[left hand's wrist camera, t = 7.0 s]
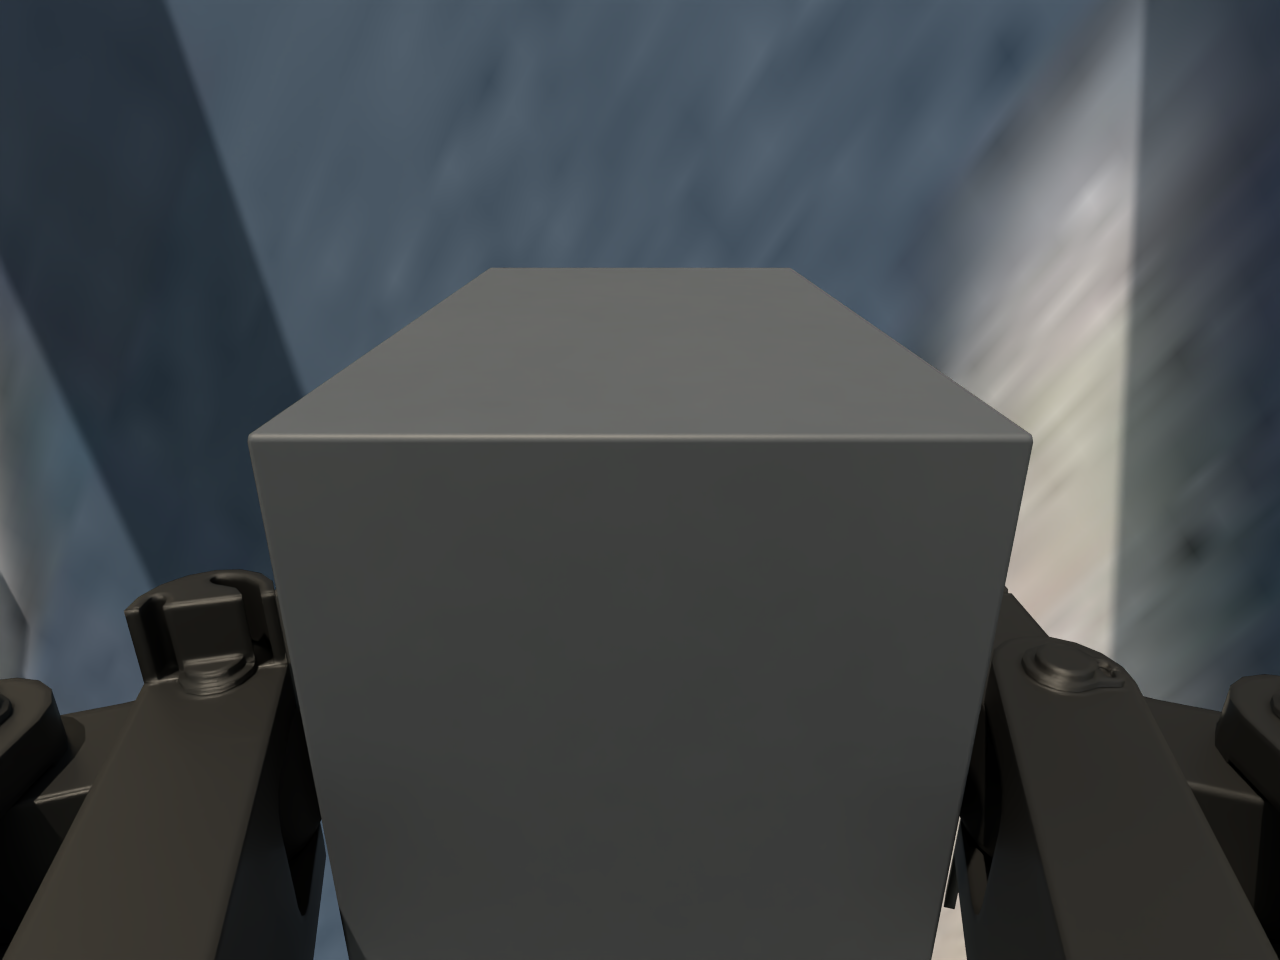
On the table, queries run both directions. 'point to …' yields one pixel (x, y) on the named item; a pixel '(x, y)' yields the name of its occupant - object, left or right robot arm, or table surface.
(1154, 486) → the table surface
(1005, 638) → the left robot arm
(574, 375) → the bar
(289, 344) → the table surface
